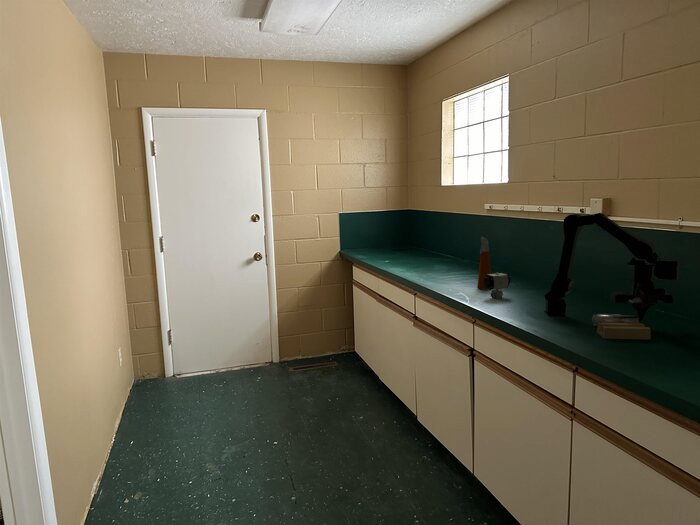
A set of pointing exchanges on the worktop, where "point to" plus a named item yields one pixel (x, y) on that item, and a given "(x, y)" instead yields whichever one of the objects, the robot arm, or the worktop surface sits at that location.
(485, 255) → the spray bottle
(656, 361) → the worktop surface
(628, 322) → the bore beam
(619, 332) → the v block
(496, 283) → the pneumatic valve
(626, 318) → the axle
